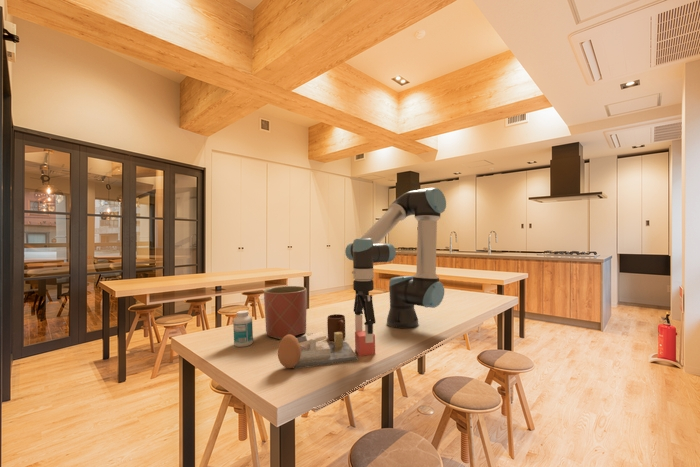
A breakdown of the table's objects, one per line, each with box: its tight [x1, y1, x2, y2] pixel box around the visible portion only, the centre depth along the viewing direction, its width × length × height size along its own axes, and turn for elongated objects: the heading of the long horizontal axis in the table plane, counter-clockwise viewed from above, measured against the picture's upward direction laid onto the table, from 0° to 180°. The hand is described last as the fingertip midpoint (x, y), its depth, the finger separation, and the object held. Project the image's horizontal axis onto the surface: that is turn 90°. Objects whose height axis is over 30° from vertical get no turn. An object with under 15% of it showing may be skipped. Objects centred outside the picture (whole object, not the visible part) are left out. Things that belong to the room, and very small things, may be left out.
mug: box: [326, 313, 346, 342], centre depth 133 cm, size 12×8×9 cm, turn 23°
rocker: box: [296, 331, 328, 346], centre depth 113 cm, size 10×6×1 cm, turn 104°
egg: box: [277, 334, 301, 369], centre depth 106 cm, size 8×8×11 cm
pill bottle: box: [232, 309, 254, 348], centre depth 130 cm, size 8×7×14 cm
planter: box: [263, 285, 308, 341], centre depth 144 cm, size 19×19×20 cm
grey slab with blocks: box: [292, 332, 358, 369], centre depth 116 cm, size 22×16×8 cm
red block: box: [354, 330, 376, 357], centre depth 119 cm, size 6×6×7 cm
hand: (363, 336), depth 118 cm, fingers open, 13 cm apart
